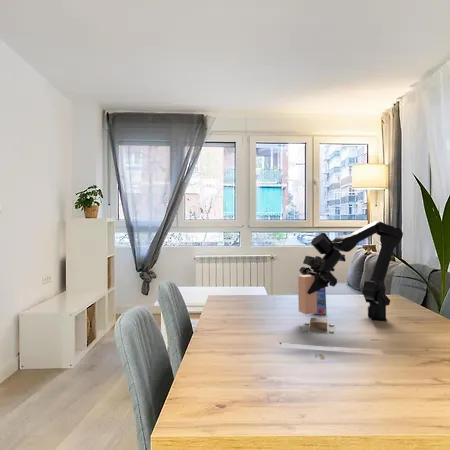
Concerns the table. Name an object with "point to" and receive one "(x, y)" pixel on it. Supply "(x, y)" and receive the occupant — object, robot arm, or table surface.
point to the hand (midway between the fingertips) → (304, 292)
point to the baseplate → (330, 330)
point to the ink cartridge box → (321, 301)
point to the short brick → (318, 324)
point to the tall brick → (306, 295)
